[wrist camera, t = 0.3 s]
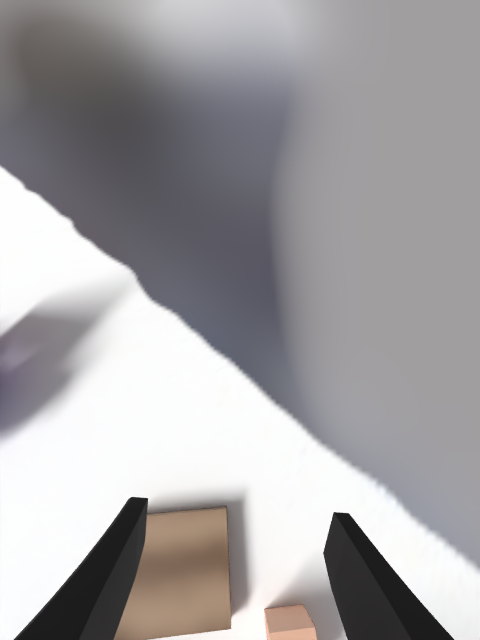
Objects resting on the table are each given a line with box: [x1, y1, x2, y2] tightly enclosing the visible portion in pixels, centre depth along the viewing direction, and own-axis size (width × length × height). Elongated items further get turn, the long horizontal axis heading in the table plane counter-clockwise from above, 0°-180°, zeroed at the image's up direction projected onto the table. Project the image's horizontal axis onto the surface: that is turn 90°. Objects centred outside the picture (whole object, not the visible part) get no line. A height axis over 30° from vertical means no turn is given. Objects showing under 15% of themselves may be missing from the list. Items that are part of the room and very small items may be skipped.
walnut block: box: [114, 506, 231, 640], centre depth 29 cm, size 10×12×3 cm
